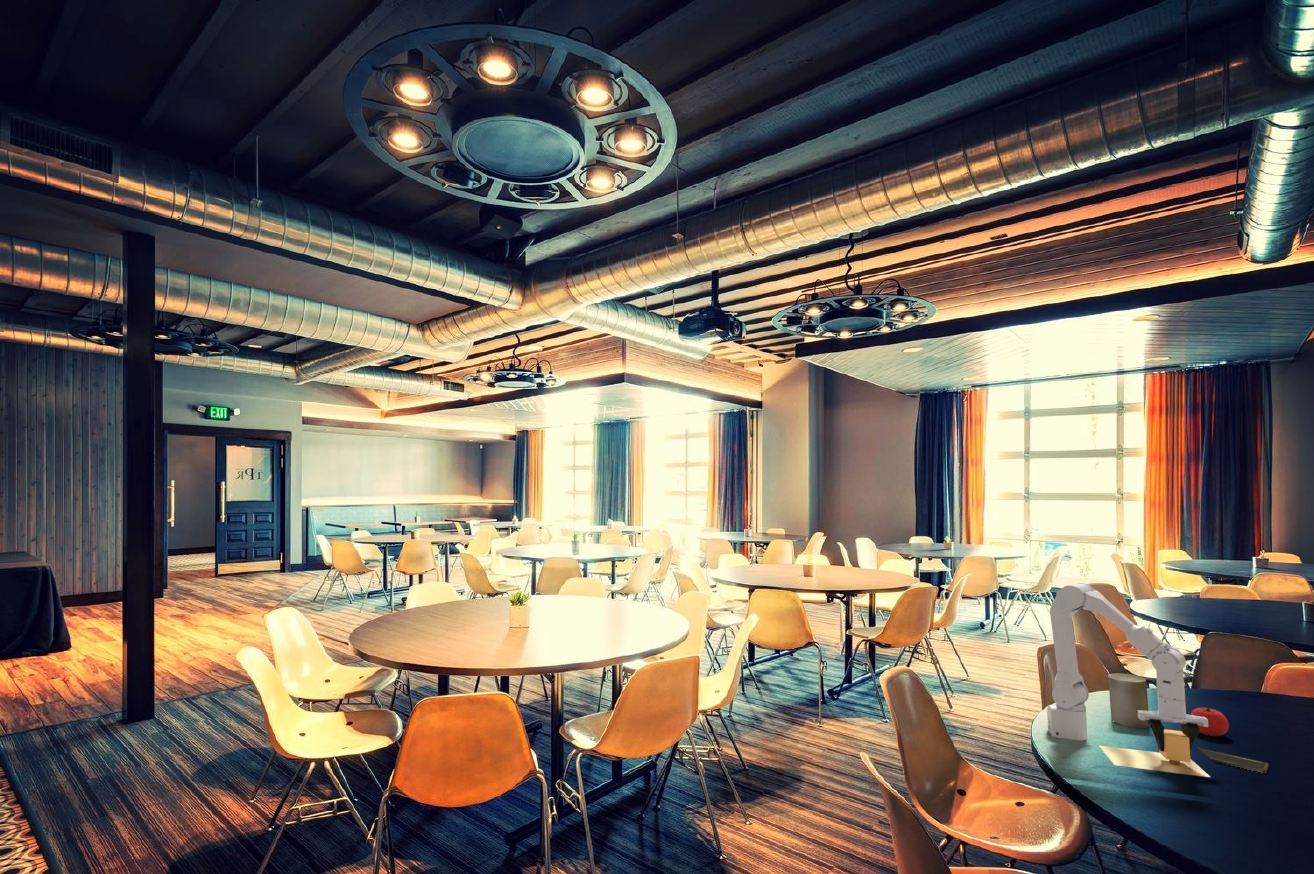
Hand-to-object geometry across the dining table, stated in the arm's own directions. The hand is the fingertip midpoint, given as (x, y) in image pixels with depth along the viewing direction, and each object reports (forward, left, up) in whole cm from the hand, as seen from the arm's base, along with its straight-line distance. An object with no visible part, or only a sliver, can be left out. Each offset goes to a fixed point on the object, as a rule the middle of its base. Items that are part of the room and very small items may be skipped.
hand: (1174, 751), depth 169 cm
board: (-5, 0, -4) cm, 6 cm away
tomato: (+19, +32, -4) cm, 37 cm away
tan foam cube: (0, 0, -1) cm, 1 cm away
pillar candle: (0, +35, -4) cm, 35 cm away
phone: (+15, +10, -4) cm, 19 cm away
